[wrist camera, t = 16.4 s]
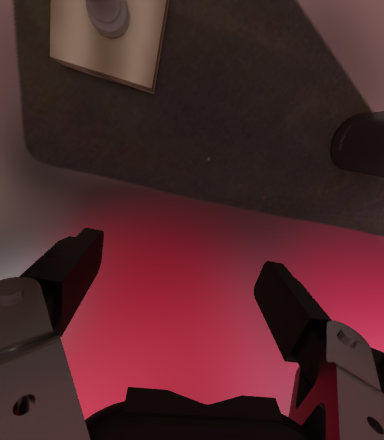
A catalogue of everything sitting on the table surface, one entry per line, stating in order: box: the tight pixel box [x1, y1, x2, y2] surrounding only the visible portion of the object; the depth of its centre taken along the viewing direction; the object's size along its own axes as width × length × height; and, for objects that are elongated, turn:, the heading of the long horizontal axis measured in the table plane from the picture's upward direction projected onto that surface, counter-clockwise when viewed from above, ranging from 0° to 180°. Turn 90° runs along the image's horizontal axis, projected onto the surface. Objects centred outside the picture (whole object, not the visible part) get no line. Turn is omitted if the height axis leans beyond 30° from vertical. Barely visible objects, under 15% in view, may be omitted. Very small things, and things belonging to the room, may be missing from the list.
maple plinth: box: [50, 0, 170, 94], centre depth 26 cm, size 12×12×4 cm
